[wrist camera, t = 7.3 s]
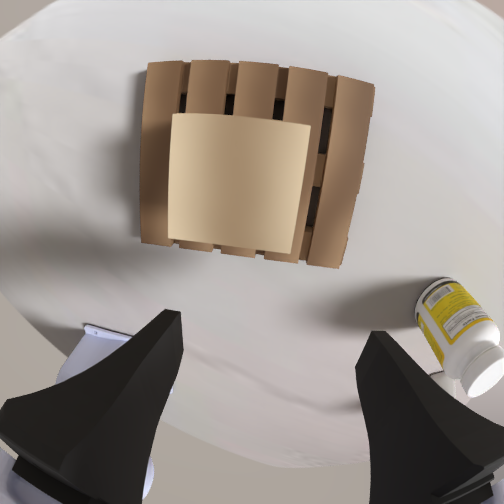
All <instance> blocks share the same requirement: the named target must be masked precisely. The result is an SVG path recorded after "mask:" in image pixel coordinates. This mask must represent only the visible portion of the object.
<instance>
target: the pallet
mask: <svg viewBox="0 0 504 504" xmlns="http://www.w3.org/2000/svg"><path fill="white" fill-rule="evenodd" d="M181 94H187V102H186V112H185V113H198V114H219V115H224V113H225V104H226V95H227V96H235V102H234V111H233V115H234V116H246V117H256V118H265V119H272V117H273V109H274V100H279V101H285V105H284V113H283V121H288V122H294V123H301V124H307V125H310V126H311V129H310V136H309V143H308V150H307V157H306V163H305V170H304V176H303V183H302V189H301V195H300V201H299V207H298V213H297V219H296V225H295V230H294V236H293V242H292V247H291V253H290V254H287V253H279V252H272V251H264V250H256V249H249V248H241V247H233V246H226V245H218V244H210V243H202V242H195V241H187V240H179V239H171V238H168V186H169V160H170V142H171V128H172V116H173V114H177V113H179V108H180V98H181ZM374 95H375V87H374V84H371V83H367V82H364V81H360V80H356V79H352V78H348V77H344V76H340V75H338V76H337V77H335V76H330V75H328V73H326V72H321V71H316V70H311V69H305V68H299V67H292V66H289V68H284V67H279V65H278V64H269V63H259V62H246V61H239V63H230V61H228V60H192V61H191V62H183V61H164V62H152V63H148V67H147V75H146V83H145V92H144V103H143V114H142V129H141V147H140V225H141V243H147V244H154V245H162V246H169V247H171V246H172V245H173V243H176V244H179V248H184V249H191V250H199V251H206V252H212V250H213V248H214V249H221V254H229V255H236V256H244V257H251V258H255V254H260V255H264V259H267V260H274V261H282V262H290V263H298V260H306V263H307V265H313V266H321V267H329V268H337V269H339V266H340V265H341V264H342V260H343V256H344V253H345V249H346V245H347V241H348V237H347V236H348V231H349V227H350V223H351V219H352V214H353V210H354V206H355V201H356V196H357V194H359V189H360V184H361V179H362V174H363V168H364V163H363V160H364V155H365V149H366V143H367V136H368V130H369V123H370V117H372V111H373V103H374ZM324 108H327V109H332V115H331V123H330V130H329V137H328V143H327V150H326V154H322V153H318V148H319V141H320V134H321V127H322V119H323V112H324ZM312 186H316V187H320V192H319V197H318V203H317V208H316V214H315V219H314V224H313V227H311V226H305V224H306V219H307V214H308V208H309V202H310V197H311V191H312Z"/></svg>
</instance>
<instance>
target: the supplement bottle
mask: <svg viewBox="0 0 504 504" xmlns="http://www.w3.org/2000/svg"><path fill="white" fill-rule="evenodd" d="M415 319H416V322H417V324H418V325H419V327H420V329H421V331H422V332H423V334H424V336H425V337H426V339H427V341H428V343H429V344H430V346H431V348H432V350H433V352H434V353H435V355H436V357H437V359H438V361H439V363H440V364H441V366H442V368H443V370H444V372H445V373H446V375H447V376H448V377H450V378H451V379H456V380H459V379H460V382H461V384H462V387H463V389H464V390H465V392H466V394H467V396H468V397H471V398H472V397H476V396H479V395H481V394H483V393H484V392H486V391H487V390H489V389H490V388H491V387H492V386H494V385H495V384H496V383H497V382H498V380H500V378H501V377H502V376H503V375H504V349H503V348H501V346H500V345H498V344H499V340H500V333H499V329H498V327H497V326H496V324H495V323H494V322H493V320H492V319H491V318H490V317H489V316H488V314H487V313H486V312H485V311H484V310H483V308H482V307H481V306H480V305H479V304H478V303H477V302H476V300H475V299H474V298H473V297H472V296H471V295H470V294H469V293H468V292H467V291H466V289H465V288H464V287H463V286H462V285H461V284H460V283H459V282H457V281H456V280H454V279H451V278H445V279H441V280H438V281H436V282H434V283H433V284H431V285H430V286H429V287H428V288H427V289H426V290H425V291H424V292H423V293H422V295H421V296H420V298H419V300H418V302H417V304H416V307H415Z"/></svg>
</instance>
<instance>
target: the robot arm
mask: <svg viewBox="0 0 504 504" xmlns="http://www.w3.org/2000/svg"><path fill="white" fill-rule="evenodd" d="M84 329H85V333H86V334H85V335H84V336H83V338H82V339H81V340H80V342H79V343H78V344H77V346H76V347H75V349H74V350H73V351H72V353H71V354H70V356H69V357H68V358H67V360H66V362H65V363H64V364H63V366H62V368H61V369H60V371H59V374H58V376H57V380H56V384H55V385H54V386H51V387H49V388H46V389H43V390H40V391H37V392H34V393H31V394H27V395H23V396H20V397H15V398H11V399H7V400H6V402H5V403H4V405H3V406H2V408H1V410H0V439H2V440H3V441H4V442H5V443H6V444H7V445H8V446H9V447H10V448H11V449H12V450H13V451H15V452H16V453H17V454H18V455H19V456H18V458H17V460H15V459H14V458H13V457H12V456H10V455H9V454H8V453H7V452H5V451H4V450H3V449H1V448H0V504H142V500H143V499H144V497H145V496H146V495H147V493H148V491H149V490H150V487H151V485H152V482H153V477H154V466H153V463H152V459H151V457H150V453H151V448H152V444H153V440H154V436H155V432H156V428H157V425H158V422H159V419H160V417H161V414H162V412H163V409H164V406H165V404H166V401H167V399H168V396H169V394H172V392H173V384H174V381H175V379H176V376H177V374H178V370H179V367H180V363H181V359H182V355H183V351H184V349H183V337H182V324H181V312H180V311H174V310H168V309H165V310H163V311H162V312H161V313H160V314H159V315H157V316H156V317H155V318H154V319H153V320H152V321H151V322H149V323H148V324H147V325H146V326H145V327H144V328H143V329H141V330H140V331H139V332H138V333H137V334H135V335H134V336H133V337H131V336H127V335H123V334H119V333H115V332H112V331H108V330H105V329H101V328H98V327H94V326H91V325H86V326H85V327H84ZM355 370H356V381H357V389H358V393H359V398H360V402H361V406H362V411H363V415H364V419H365V424H366V428H367V433H368V439H369V447H370V462H371V486H370V501H369V504H504V479H502V480H501V481H499V482H497V483H496V484H494V485H493V486H491V484H490V481H492V480H493V479H494V475H493V472H494V471H495V470H497V469H498V468H499V467H501V466H502V465H503V464H504V427H503V426H500V425H498V424H496V423H493V422H492V421H490V420H488V419H486V418H484V417H482V416H480V415H479V414H477V413H475V412H474V411H472V410H471V409H469V408H468V407H466V406H465V405H463V404H462V403H460V402H459V401H458V400H456V399H455V398H454V397H453V396H451V395H450V394H449V393H448V392H446V391H445V390H444V389H443V388H442V387H440V386H439V385H438V384H437V383H436V382H435V381H434V380H433V379H432V378H431V377H430V376H429V375H428V374H427V373H426V372H425V371H424V370H423V369H422V368H421V367H420V366H419V365H418V364H417V363H416V362H415V361H414V360H413V359H412V358H411V357H410V356H409V355H408V354H407V353H406V352H405V351H404V349H403V348H402V347H401V346H400V345H399V344H398V343H397V342H396V341H395V340H394V339H393V338H392V337H391V336H390V335H389V334H388V333H387V332H386V331H371V333H370V336H369V338H368V340H367V342H366V345H365V347H364V349H363V351H362V353H361V355H360V358H359V360H358V362H357V364H356V366H355Z"/></svg>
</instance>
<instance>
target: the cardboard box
mask: <svg viewBox="0 0 504 504" xmlns="http://www.w3.org/2000/svg"><path fill="white" fill-rule="evenodd" d="M310 129H311V126H310V125H307V124H301V123H294V122H288V121H281V120H273V119H265V118H256V117H246V116H234V115H219V114H198V113H177V114H173V116H172V128H171V142H170V160H169V186H168V238H171V239H179V240H187V241H195V242H202V243H210V244H218V245H226V246H233V247H241V248H249V249H256V250H264V251H272V252H279V253H287V254H290V253H291V247H292V242H293V236H294V230H295V225H296V219H297V213H298V207H299V201H300V195H301V189H302V183H303V176H304V170H305V163H306V157H307V150H308V143H309V136H310Z"/></svg>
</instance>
